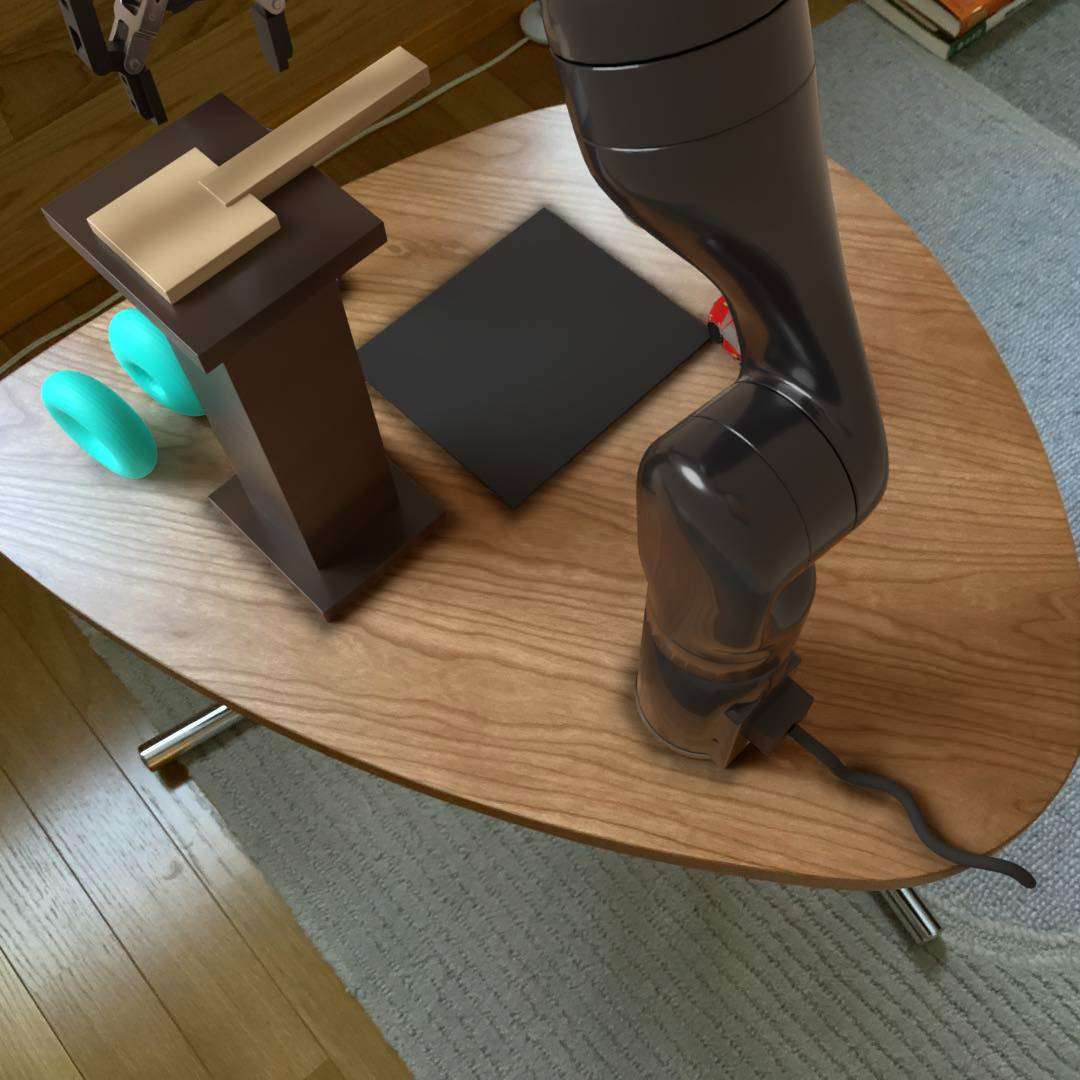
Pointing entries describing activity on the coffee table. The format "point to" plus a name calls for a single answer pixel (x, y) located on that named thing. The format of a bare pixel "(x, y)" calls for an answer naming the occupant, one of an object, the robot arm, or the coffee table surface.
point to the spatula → (241, 184)
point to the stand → (275, 367)
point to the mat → (530, 355)
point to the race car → (724, 328)
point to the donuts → (104, 414)
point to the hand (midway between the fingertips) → (218, 92)
